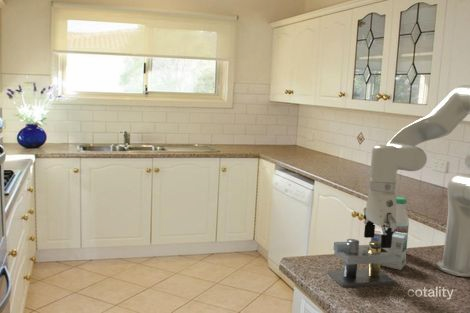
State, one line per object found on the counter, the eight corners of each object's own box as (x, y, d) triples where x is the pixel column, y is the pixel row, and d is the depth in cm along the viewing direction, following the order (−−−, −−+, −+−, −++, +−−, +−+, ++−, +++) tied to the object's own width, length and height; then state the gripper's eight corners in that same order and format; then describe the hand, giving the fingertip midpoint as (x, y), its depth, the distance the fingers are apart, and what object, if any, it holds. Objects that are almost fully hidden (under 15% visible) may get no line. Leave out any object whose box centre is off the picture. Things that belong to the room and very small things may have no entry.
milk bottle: (378, 249, 174) (383, 195, 172) (396, 248, 177) (401, 195, 174) (392, 257, 167) (398, 200, 165) (410, 255, 170) (416, 200, 167)
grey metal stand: (377, 271, 153) (380, 234, 151) (394, 284, 143) (398, 245, 142) (325, 273, 149) (328, 236, 147) (340, 287, 139) (343, 246, 138)
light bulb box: (405, 264, 161) (408, 233, 159) (401, 270, 155) (404, 238, 153) (373, 257, 166) (376, 227, 165) (367, 263, 160) (370, 231, 159)
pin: (376, 272, 149) (377, 240, 148) (382, 276, 146) (383, 244, 144) (366, 273, 148) (367, 241, 147) (372, 277, 145) (372, 245, 144)
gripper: (410, 193, 136) (404, 251, 138) (378, 181, 153) (373, 233, 155) (386, 193, 134) (380, 252, 137) (356, 180, 151) (352, 234, 153)
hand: (377, 242), depth 146 cm, fingers open, 9 cm apart
